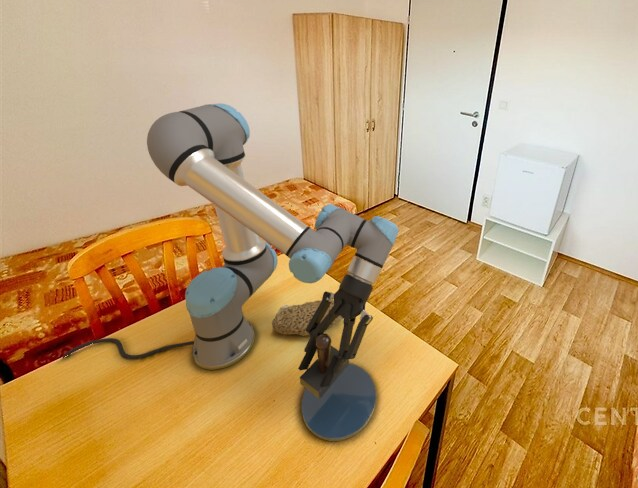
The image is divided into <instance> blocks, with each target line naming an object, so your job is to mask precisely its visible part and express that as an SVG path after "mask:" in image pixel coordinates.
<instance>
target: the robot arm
mask: <svg viewBox="0 0 638 488" xmlns="http://www.w3.org/2000/svg"><path fill="white" fill-rule="evenodd" d="M250 134H251V130H250V126H249V124H248V122H247V119H246V118H245V117H244V115H243V114H242V113H241V112H240V111H238V110H237V109H236V108H234V106H231V105H230V104H226V103H219V102H218V103H210V104H204V105H200V106H195V107H192V108H188V109H183V110H179V111H173V112H168V113H166V114H164V115H161V116H160V117H158V118H157V119H156V120H155V121H154V122H153V123H152V124H151V126H150V127H149V130H148V132H147V137H146V148H147V151H148V154H149V157H150V159H151V160H152V163H153V164H154V166H155V167H156V169H158V170H159V171H160V173H161V174H162V175H164V176H165V177H166V179H168V180H170V181H172V183H174V184H176V185H177V186H179V187H189V188H190V189H192V190H193V191H194V192H196V193H197V194H199V195H200V196H202V197H203V198H204V199H206V200H207V201H209V202H210V203H211V204H213V208H214V210H215V214H216V217H217V220H218V221H217V222H218V224H219V227H220V231H221V233H222V238H223V241H224V244H225V247H224V248H223V249H222V251H221V257H222V259H223V263H224V264H223V265H222V266H216V267H213V268H210V269H209V270H204V271H202V272H201V273H198V274H197V275H196V276H195V277H194V278H193V279H192V280H190V282H189V283H188V285H187V287H186V289H185V294H184V299H185V307H186V311H187V312H188V314H189V317H190V320H191V323H192V327H193V330H194V333H195V336H194V340H192V341H185V342H180V343H173V344H170V345H165V346H162V347H159V348H156V349H153V350H151V351H147V352H145V353H141V354H128V353H127V352H126V351H125V350H124V347H123V343H122V342H121V341H120V340H119V339H117V338H113V337H108V338H107V337H106V338H99V339H94V340H90V341H88V342H85V343H82V344H80V345H77V346H75V347H73V348H72V349H69V351H67V352H65V353H64V354H63V356H62V358H61V359H66V358H68V357H69V356H70V355H71V353H72V354H73V353H75V352H76V351H78V350H81V349H83V348H85V347H88V346H91V345H90V344H92V343H93V344H92V345H95V344H99V343H114V344H116V346H117V349H118V351H119V354H120V355H121V357H122V358H124V359H127V360H138V359H143V358H146V357H149V356H151V355H155V354H157V353H160V352H163V351H167V350H170V349H175V348H181V347H188V346H192V345H193V347H192V356H193V359H194V362H195V363H196V365H197V366H198V367H200V368H202V369H204V370H209V371H215V370H222V369H225V368H228V367H231V366H233V365H235V364H236V363H238V362H239V361H241V360H242V359H244V358H245V356H246V355H247V354H248V353H249V352H250V351H251V349H252V347H253V345H254V343H255V339H256V338H255V330H254V327H253V325H252V323H250V321H249V320H248V319H247V318H246V317H245V315H244V311H243V306H244V304H245V303H246V302H247V301H249V299H250V298H251V297H252V296H253V295H254V294H255V293H257V291H258V290H259V289H260V288H261V287H262V286H263V285H264V284H265V283H266V282H267V281H268V280H269V279H270V278H271V276H272V275H273V273H274V272H276V271H275V270H276V269H277V267H278V259H279V258H278V255H277V252H276V250H278V251H279V252H281V253H282V254H283V255H285V256H286V257H287V258H288V259H289V261H288V270H289V272H290V273H292V275H293V277H294V278H295V279H296V280H297V281H299V282H301V283H304V284H314V283H315V284H316V283H317V282H319V281H320V280H322V279H323V277H324V276H325V274H327V272H328V271H329V270H330V269H331V268H332V265H333V264H334V262H335V261H336V259H337V258H338V257H339V255H340V254H341V253H342V251H343V250H344V249H345V247H346V246H348V247H351V248H352V249H356V252H355V253H354V255H353V257H352V259H351V262H350V263H349V266H348V267H347V270H346V271H347V272H348V273H346V274H344V276H343V278H342V279H341V281H340V283H339V285H338V287H339V288H338V290H336V292H334V293H333V292H330V291H324V292H323V294H322V297H321V300H322V301H321V303H320V305H319V306H318V308H317V310H316V312H315V314H314V315H313V317H312V319H311V321H310V322H309V324H308V326H307V328H306V332H308V333H309V335H308V336H309V339H308V341H307V342H306V345H305V347H304V349H303V352H304V356H303V358H302V359H301V362H300V364H299V366H298V368H297V369H298V370H299V371H306V370H307V369H308V368H309V367H310V366H311V363H312V361H313V359H314V357H315V355H316V353H317V346H316V339H317V337H318V336H319V335H320V334H323V333H325V332H326V331H327V330H328V329H327V328H328V327H329V326H330V325H331V324H332V322H333V321H334V320H335V319H336V318H337V317H338V316H341V317H342V318H343V320H342V321H343V322H342V323H343V328H342V333H341V336H340V337H341V338H340V342H339V347H338V350H339V352H338V355H334V356H333V359H332V361H331V363H330V365H329V367H328V369H327V371H326V373H325V376H324V378H323V380H322V382H321V384H320V386H321V387H322V388H323V387H326V386H329V385H330V383H331V380H332V378H333V376H334V374H335V373H338V372H339V371H340V369H341V367H342V365H343V363H344V361H345V359H349V360H354V359H355V358H356V356H357V354H358V351H359V349H360V346H361V344H362V341H363V338H364V336H365V333H366V330H367V328H368V326H369V324H371V322H372V321H373V319H374V316H373V315H371V314H369V313H368V312H367V311H366V304H367V302H368V300H369V298H370V296H371V294H372V292H373V290H374V287H373V285H375V284H376V283H377V281H378V278H379V276H380V274H381V272H382V270H383V267H384V265H385V263H386V261H387V259H388V258H389V255H390V252H391V250H392V249H393V246H394V244H395V242H396V239H397V237H398V235H399V232H400V229H399V227H398V224H396V223H394V222H392V221H390V220H389V219H387V218H384V217H382V216H379V215H374V216H373V217H372V218H371V219H370V220H368V219H365V218H364V217H361V216H359V215H357V214H356V213H352V212H351V211H348V210H347V209H345V208H343V207H339V206H337V205H334V204H332V203H328V204H326V205H324V206H323V207H322V209H321V210H320V211H319V213H318V215H317V217H316V220H315V222H314V229H315V230H314V229H313V228H311V227H310V226H308V225H307V224H306V223H304V222H303V221H302V220H300V219H299V218H297V217H296V216H295V215H294V214H292V213H291V212H289V211H288V210H286V209H285V208H284V207H283V206H281V205H280V204H278V203H277V202H276V201H274V200H273V199H271V198H270V197H269V196H267V195H266V194H265V193H263V192H261V191H260V190H259V189H258V188H256V187H255V186H253V185H252V184H251V183H249V182H248V181H246V180H245V176H244V172H243V168H242V162H244V161H243V160H245V158H246V153H245V149H244V146H245V145H246V143H247V142H248V140H249V138H250ZM272 247H273V248H272ZM274 248H275V249H276V250H275V249H274ZM332 301H334V306H333V307H332V308H331V310H330V311H329V313H328V315H327V316H326V317H325V318H324V319H323V320H322V318H323V317H324V315H325V313H326V311H327V310H328V308H329V306H330V304H331V302H332ZM358 316H360V317H359V322H358V324H357V325H356V329H355V331H354V330H353V329H354V326H355V324H356V319H357V317H358ZM321 320H322V322H321ZM320 322H321V323H320ZM326 329H327V330H326ZM353 331H354V334H353ZM67 355H69V356H67ZM65 356H67V357H65ZM64 357H65V358H64Z"/></svg>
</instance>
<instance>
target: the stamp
mask: <svg viewBox="0 0 638 488" xmlns="http://www.w3.org/2000/svg"><path fill="white" fill-rule="evenodd" d="M332 341H333V340H332V338H331V335H329V334H328V333H325V332H324V333H323V334H320V335H319V336H318V337H317V339H316V346H317V351H316V353H317V358H316V360H314V362H313V363H312V364H310V365H309V367H308V369H307V370H304V372H303V373H302V374H301V375H300V376H299V383H300V385H301V386H302V387H304V388H305V389H307V390H309V391H310V392H311V393H312V394H314V395H315V396H316V397H317V398H319V399H320V398H321V397H322V396H323V395H324V393H325V392H326V391H327V390H328V389H329V387H330V386H331V385H332V384H333V383H334V382H335V380H336V379H337V378H338V377H339V376H340V375H341V373H342V372H343V371H344V370H345V369H346V367H347V366H348V365H349V364H350V359H345V361H344V363H343V365H342V367H341V369H340V371H339V372H338V373H335V374H334V376H333V378H332V380H331V383H330V385H329V386H326V387H323V388H322V387H321V386H320V384H321V382H322V380H323V378H324V376H325V373H326V371H327V369H328V367H329V365H330V363H331V361H332V359H333V356H334V355H338V352H339V349H337V348H336V347H334V345H332Z"/></svg>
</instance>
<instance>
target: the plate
mask: <svg viewBox="0 0 638 488" xmlns="http://www.w3.org/2000/svg"><path fill="white" fill-rule="evenodd" d="M376 399H377V392H376V387H375V383H374V381H373V379H372V377H371V376H370V374H369V373H368V372H367V371H366V370H365V369H364V368H362V367H360V366H359V365H357V364H353V363H349V365H348V366H347V367H346V369H345V370H344V371H343V372H342V373H341V375H340V376H339V377H338V378H337V379H336V380H335V382H334V383H333V384H332V385H331V386H330V387H329V389H328V390H327V391H326V392H325V393H324V395H323V396H322V397H321V398H320V399H319V398H317V397H316V396H315V395H314V394H312V393H311V392H310V391H309V390H307V389H306V388H305V389H304V390H303V393H302V399H301V415H302V419H303V422H304V424H305V426H306V428H307V429H308V430H309V431H310V433H312V434H313V435H314V436H315V437H317V438H319V439H321V440H323V441H327V442H340V441H345V440H348V439H350V438H352V437H354V436H356V435H357V434H359V433H360V432H361V431H362V430H363V429H364V428H365V427H366V426H367V424H368V423H369V422H370V420H371V418H372V417H373V413H374V411H375V408H376V401H377V400H376Z"/></svg>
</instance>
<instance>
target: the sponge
mask: <svg viewBox="0 0 638 488" xmlns="http://www.w3.org/2000/svg"><path fill="white" fill-rule="evenodd" d="M321 301H322V299H321V300H315V301H307V302H304V303H302V304H296V305H295V304H293V305H288V304H286V305H283V306H280V308H279V309H278V311H277V313H276V314H275V316H274V319H273V320H272V321H271V325H272V327H271V328H272V329H273V331H275V332H277V333H278V334H282V335H297V336H302V337H304V336H305V337H306V336H307V337H308V336H310V335H309V333H308V332H306V328H307V326H308V324H309V322H310V321H311V319H312V317H313V315H314V314H315V312H316V310H317V308H318V306H319V305H320V303H321ZM333 306H334V300H333V301H332V302H331V304H330V306H329V308H328V310H327V311H326V313H325V315H324V317H323V318H322V320H323V319H324V318H325V317H326V316H327V315H328V313H329V311H330V310H331V308H332V307H333ZM322 320H321V322H322ZM343 320H344V318H342V317H341V316H338V317H337V318H336V319H335V320H334V321H333V322H332V324H331V325H330V326H329V327H328V328H327V329H326V331H327V330H329V329H330V328H333V327H334V326H336V325H337V324H338V323H340V322H341V321H343ZM321 322H320V323H321Z"/></svg>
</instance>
